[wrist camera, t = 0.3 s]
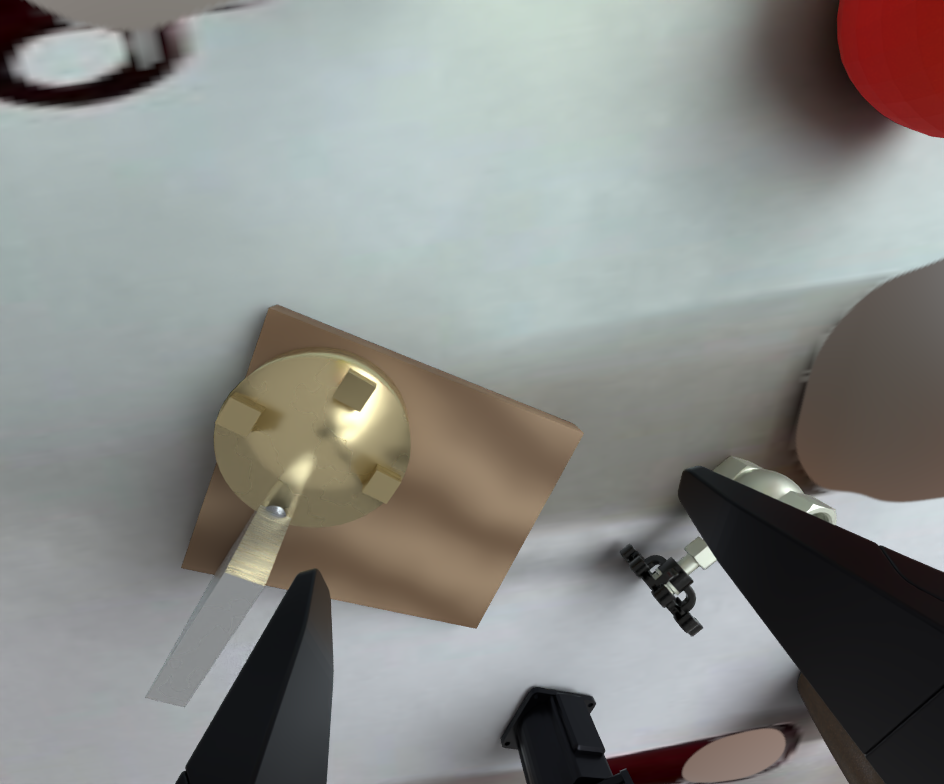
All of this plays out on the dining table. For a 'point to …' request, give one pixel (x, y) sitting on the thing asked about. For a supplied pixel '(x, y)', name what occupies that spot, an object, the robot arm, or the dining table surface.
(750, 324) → the dining table surface
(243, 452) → the ring nut spanner
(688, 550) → the valve
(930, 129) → the tomato
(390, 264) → the dining table surface
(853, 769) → the plant pot
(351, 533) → the walnut base
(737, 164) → the dining table surface
